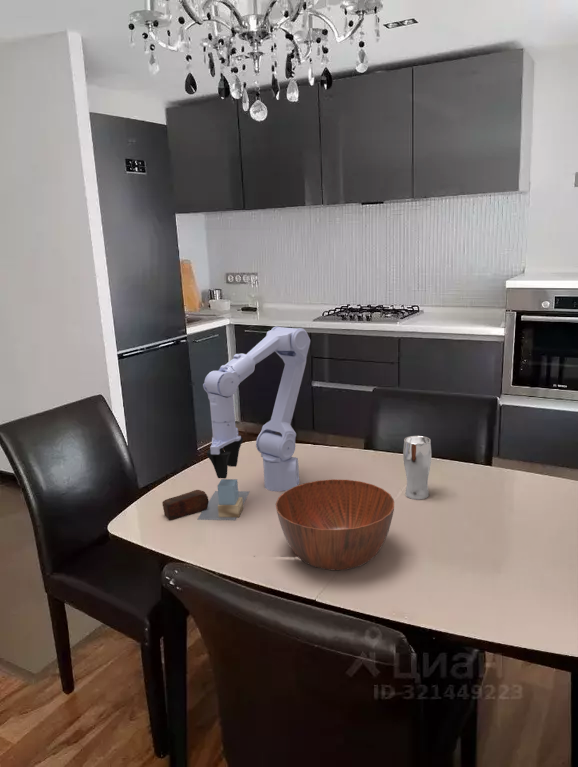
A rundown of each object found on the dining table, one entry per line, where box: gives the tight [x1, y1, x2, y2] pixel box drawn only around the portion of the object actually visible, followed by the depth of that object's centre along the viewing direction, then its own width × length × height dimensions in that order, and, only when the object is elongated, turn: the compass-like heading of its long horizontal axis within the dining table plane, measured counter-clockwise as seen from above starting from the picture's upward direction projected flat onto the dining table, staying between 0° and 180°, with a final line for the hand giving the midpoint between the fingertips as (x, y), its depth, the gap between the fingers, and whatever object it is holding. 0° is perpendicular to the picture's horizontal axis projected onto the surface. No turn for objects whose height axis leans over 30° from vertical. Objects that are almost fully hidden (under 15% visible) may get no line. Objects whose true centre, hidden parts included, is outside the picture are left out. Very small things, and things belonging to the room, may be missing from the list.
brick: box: [161, 489, 209, 521], centre depth 150 cm, size 11×4×5 cm, turn 122°
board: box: [197, 490, 250, 521], centre depth 153 cm, size 10×17×1 cm, turn 172°
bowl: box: [275, 478, 395, 571], centre depth 128 cm, size 25×25×11 cm
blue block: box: [217, 478, 239, 505], centre depth 147 cm, size 4×4×5 cm
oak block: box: [218, 497, 244, 518], centre depth 148 cm, size 5×5×3 cm
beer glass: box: [402, 435, 432, 500], centre depth 154 cm, size 7×7×15 cm
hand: (227, 471), depth 149 cm, fingers open, 7 cm apart
